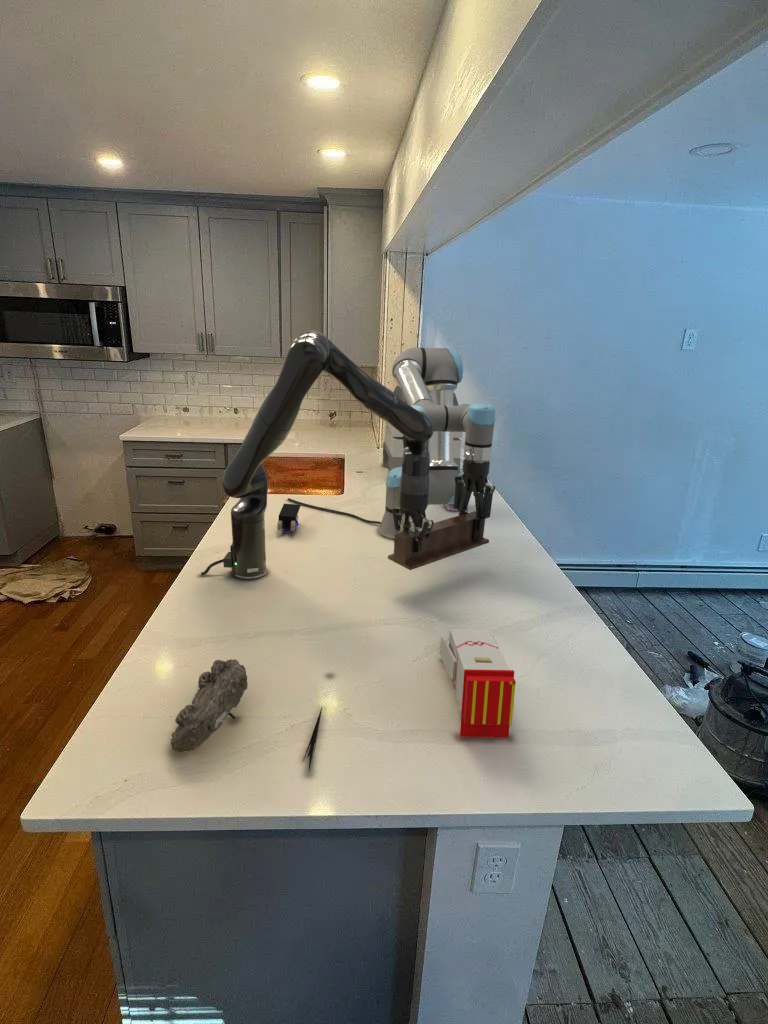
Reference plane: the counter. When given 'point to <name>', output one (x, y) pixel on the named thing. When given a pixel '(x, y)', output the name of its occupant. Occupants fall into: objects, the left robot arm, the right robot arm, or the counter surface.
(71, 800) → the counter surface
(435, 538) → the rail
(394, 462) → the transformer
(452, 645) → the toy
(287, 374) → the left robot arm
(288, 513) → the figurine character
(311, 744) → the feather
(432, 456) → the right robot arm
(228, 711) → the fossil
